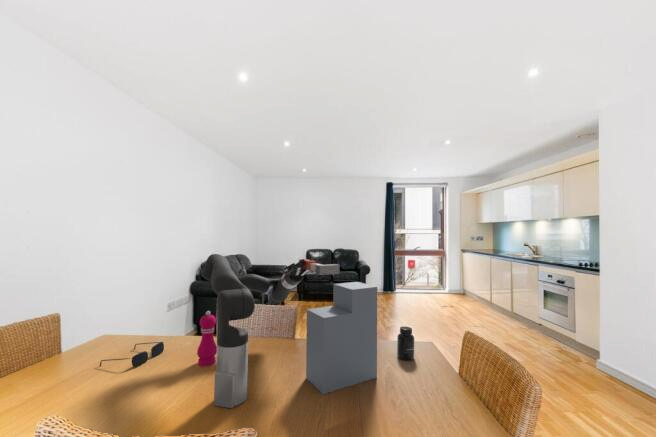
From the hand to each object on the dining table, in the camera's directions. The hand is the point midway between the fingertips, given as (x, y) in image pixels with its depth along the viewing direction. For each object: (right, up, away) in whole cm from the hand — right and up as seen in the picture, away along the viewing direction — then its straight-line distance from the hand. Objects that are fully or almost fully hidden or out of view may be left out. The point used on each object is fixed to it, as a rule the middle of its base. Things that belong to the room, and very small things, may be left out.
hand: (308, 260), depth 120 cm
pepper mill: (-39, -40, -1) cm, 56 cm away
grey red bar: (+3, -3, -5) cm, 7 cm away
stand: (+13, -40, -12) cm, 43 cm away
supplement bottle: (+40, -41, +6) cm, 57 cm away
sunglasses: (-70, -40, +2) cm, 80 cm away
